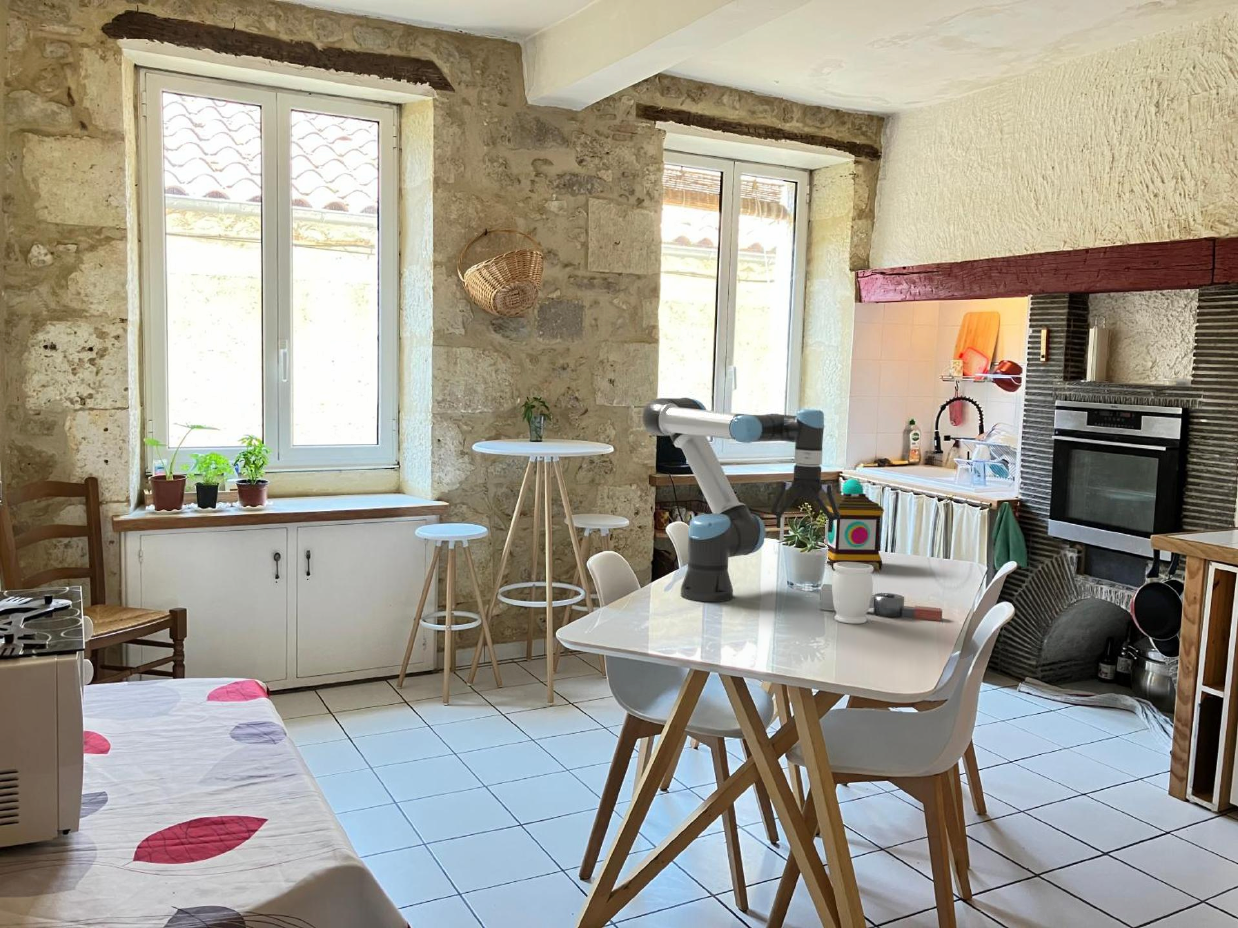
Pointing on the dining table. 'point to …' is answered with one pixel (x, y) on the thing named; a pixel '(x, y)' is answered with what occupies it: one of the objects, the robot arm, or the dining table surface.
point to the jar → (852, 591)
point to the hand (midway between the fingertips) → (803, 541)
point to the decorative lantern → (854, 527)
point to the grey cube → (826, 598)
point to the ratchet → (901, 608)
